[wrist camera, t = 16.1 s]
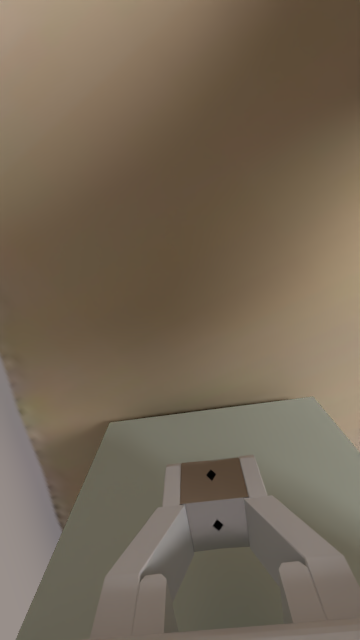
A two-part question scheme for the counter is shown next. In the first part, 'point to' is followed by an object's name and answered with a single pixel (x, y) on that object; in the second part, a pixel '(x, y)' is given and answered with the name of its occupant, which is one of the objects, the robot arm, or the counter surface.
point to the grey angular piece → (212, 565)
